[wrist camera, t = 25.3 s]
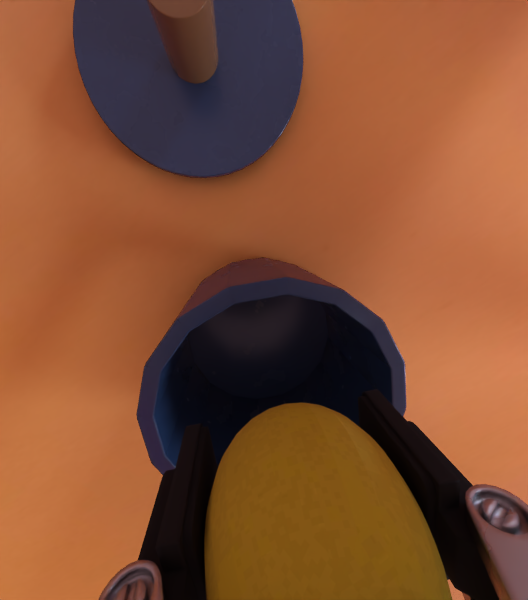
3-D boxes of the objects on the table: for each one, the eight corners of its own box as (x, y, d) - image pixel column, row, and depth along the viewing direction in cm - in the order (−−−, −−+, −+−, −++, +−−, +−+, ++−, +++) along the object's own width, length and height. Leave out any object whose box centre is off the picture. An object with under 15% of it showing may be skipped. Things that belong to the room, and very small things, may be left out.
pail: (148, 313, 20) (74, 382, 11) (286, 226, 19) (333, 220, 10) (236, 426, 23) (237, 556, 14) (357, 353, 22) (443, 436, 13)
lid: (32, 12, 15) (-96, -129, 9) (226, -122, 15) (221, -361, 9) (171, 217, 18) (142, 209, 13) (333, 112, 18) (382, 54, 12)
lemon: (365, 446, 12) (611, 849, 4) (249, 497, 12) (275, 992, 4) (323, 338, 10) (579, 647, 3) (190, 397, 10) (64, 868, 3)
